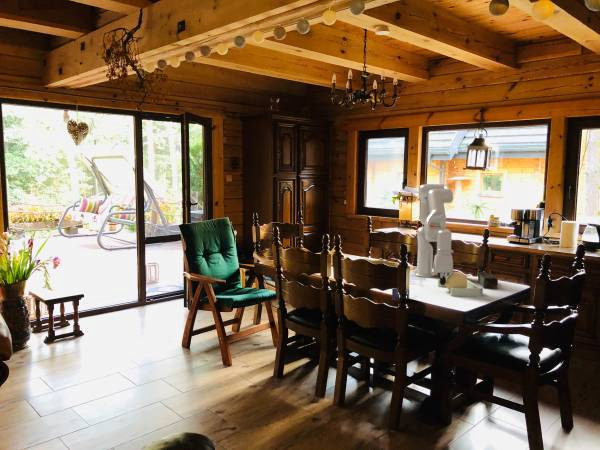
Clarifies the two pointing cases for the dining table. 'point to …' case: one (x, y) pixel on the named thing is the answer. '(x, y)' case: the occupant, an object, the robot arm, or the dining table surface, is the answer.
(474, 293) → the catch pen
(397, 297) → the flask
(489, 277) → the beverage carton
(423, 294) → the dining table surface
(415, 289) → the dining table surface
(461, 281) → the pale yellow ball
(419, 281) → the dining table surface
